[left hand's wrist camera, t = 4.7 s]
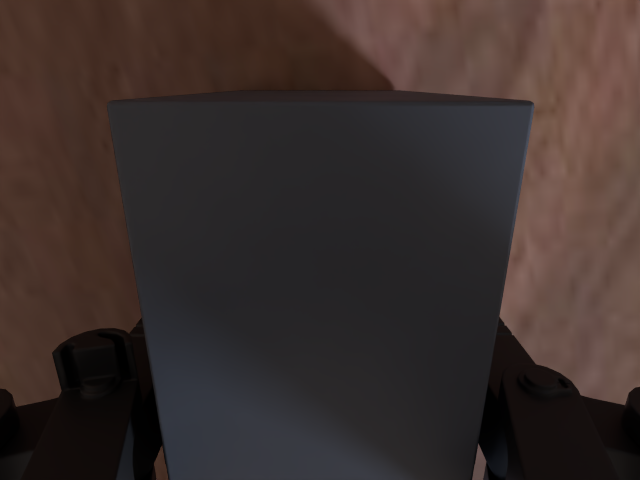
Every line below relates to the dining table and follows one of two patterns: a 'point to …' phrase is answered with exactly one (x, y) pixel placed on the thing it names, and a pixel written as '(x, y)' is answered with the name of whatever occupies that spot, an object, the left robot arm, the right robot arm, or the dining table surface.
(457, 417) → the bar
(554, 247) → the dining table surface
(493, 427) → the left robot arm
